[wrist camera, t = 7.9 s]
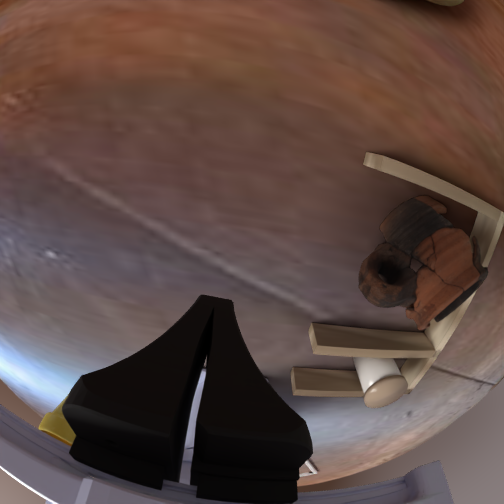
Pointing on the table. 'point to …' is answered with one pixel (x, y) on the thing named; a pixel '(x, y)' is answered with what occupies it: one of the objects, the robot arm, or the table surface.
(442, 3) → the bread roll
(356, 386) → the bracket
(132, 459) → the robot arm
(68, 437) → the plant pot
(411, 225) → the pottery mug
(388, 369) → the cream jar
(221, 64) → the table surface
